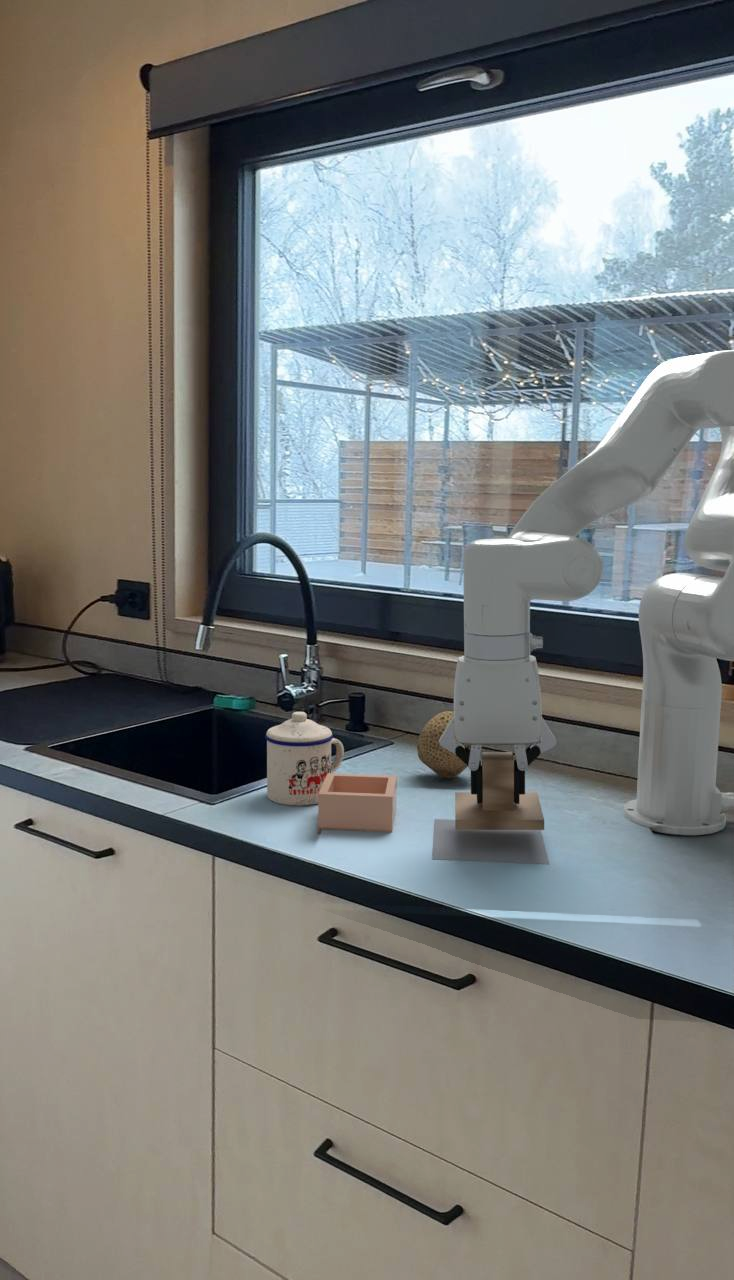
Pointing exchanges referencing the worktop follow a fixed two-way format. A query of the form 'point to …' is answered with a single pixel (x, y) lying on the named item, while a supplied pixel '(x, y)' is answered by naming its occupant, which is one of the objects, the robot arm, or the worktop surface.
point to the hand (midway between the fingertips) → (497, 798)
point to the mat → (487, 845)
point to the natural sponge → (439, 748)
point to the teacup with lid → (299, 760)
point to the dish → (357, 802)
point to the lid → (498, 800)
